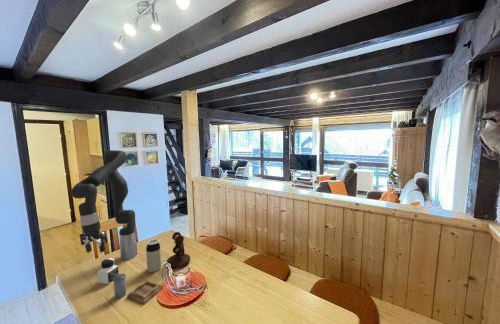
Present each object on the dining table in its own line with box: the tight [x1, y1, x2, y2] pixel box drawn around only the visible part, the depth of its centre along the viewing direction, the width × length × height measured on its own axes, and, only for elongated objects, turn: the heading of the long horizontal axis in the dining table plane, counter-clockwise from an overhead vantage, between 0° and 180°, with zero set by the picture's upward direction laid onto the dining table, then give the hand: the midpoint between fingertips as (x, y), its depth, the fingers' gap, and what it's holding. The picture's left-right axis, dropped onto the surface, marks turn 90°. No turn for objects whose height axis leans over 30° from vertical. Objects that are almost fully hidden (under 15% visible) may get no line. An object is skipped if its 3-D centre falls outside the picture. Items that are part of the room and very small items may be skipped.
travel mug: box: [145, 238, 162, 273], centre depth 131 cm, size 8×8×18 cm
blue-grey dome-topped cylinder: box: [112, 273, 127, 299], centre depth 109 cm, size 6×6×10 cm
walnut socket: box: [126, 279, 164, 305], centre depth 111 cm, size 12×12×3 cm
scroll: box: [166, 231, 191, 269], centre depth 138 cm, size 15×15×20 cm
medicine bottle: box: [97, 257, 119, 285], centre depth 121 cm, size 7×7×12 cm
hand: (96, 251), depth 109 cm, fingers open, 8 cm apart
